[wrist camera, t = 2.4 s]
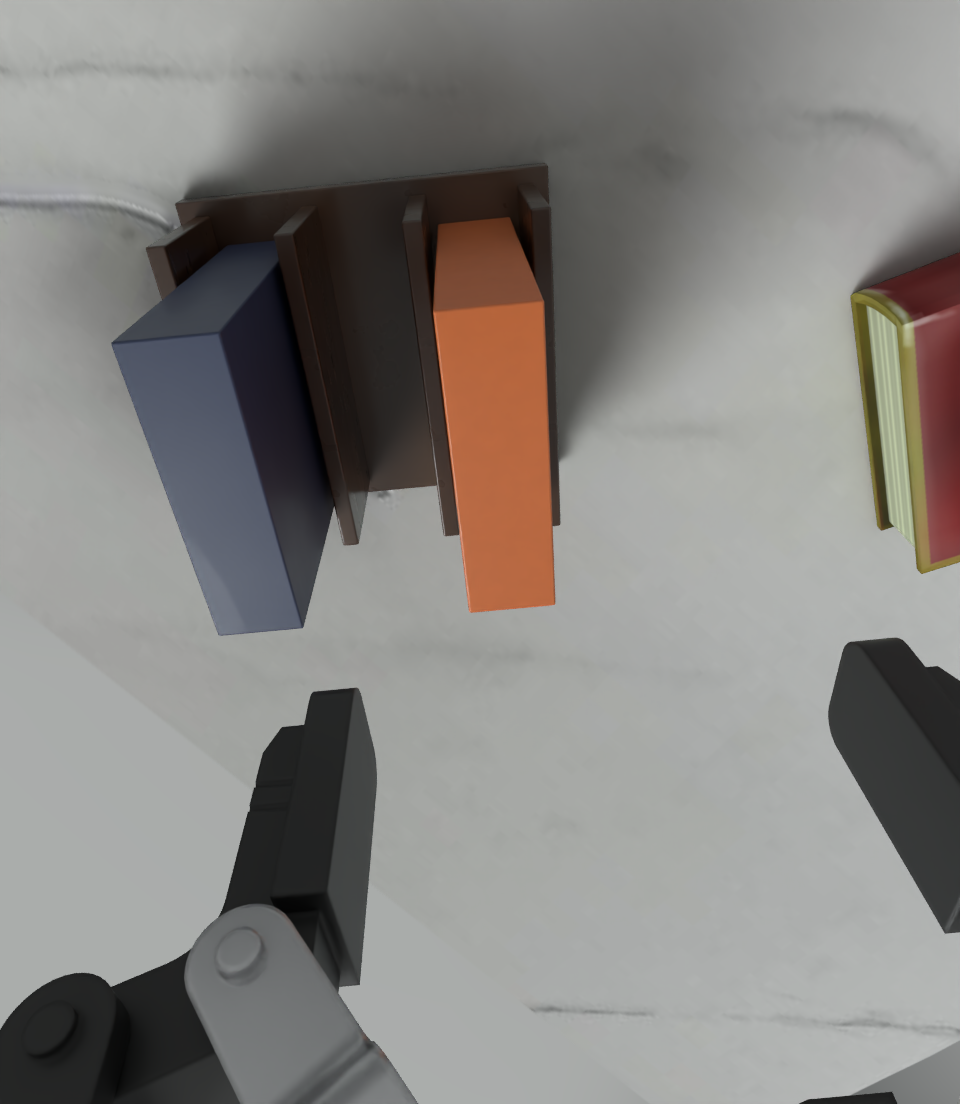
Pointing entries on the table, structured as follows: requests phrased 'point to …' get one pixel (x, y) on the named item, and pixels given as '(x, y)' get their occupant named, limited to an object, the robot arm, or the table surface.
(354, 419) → the book rack
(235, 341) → the navy book
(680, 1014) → the table surface
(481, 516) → the orange book
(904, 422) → the hardcover book
